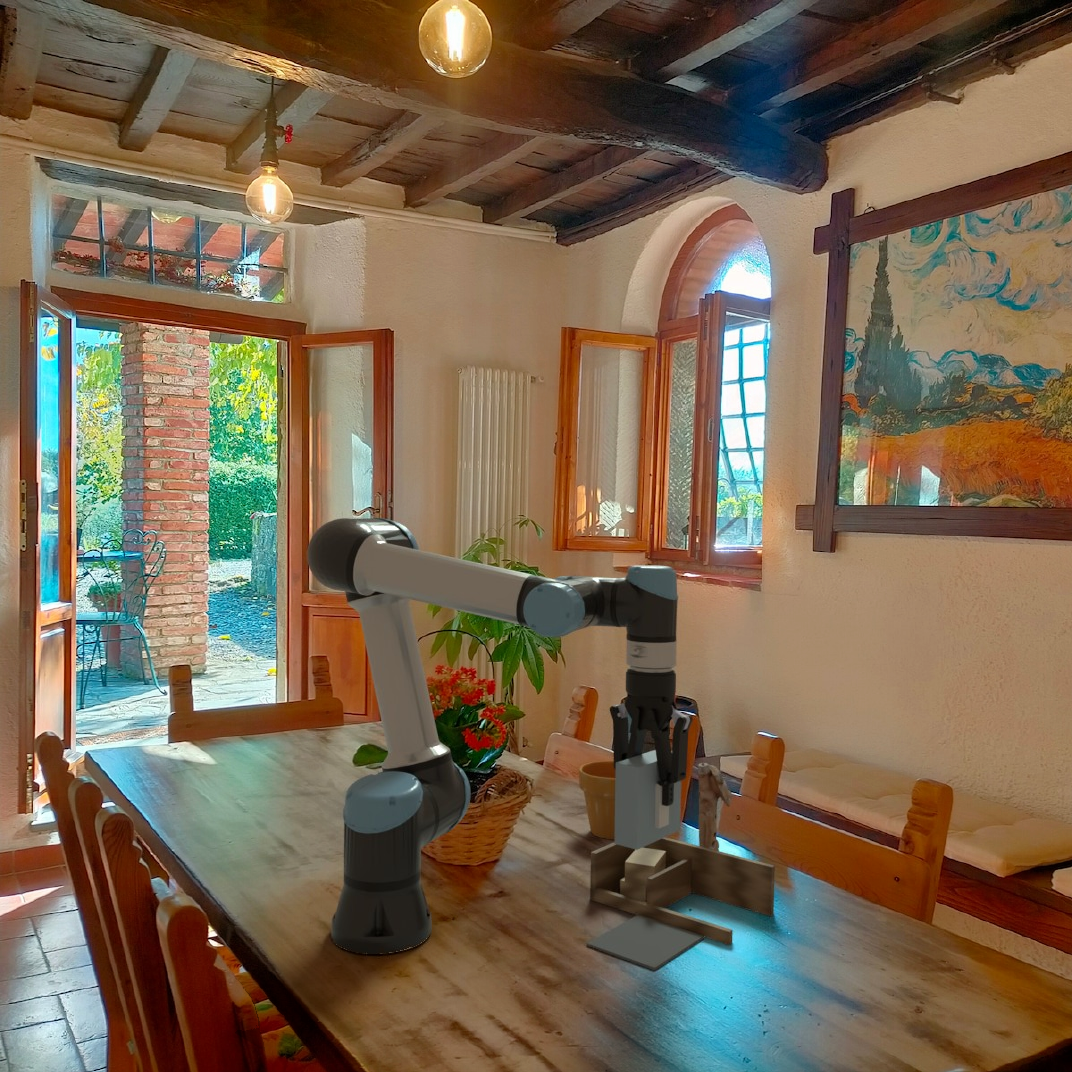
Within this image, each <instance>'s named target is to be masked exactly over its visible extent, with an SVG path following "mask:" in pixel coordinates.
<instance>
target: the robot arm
mask: <svg viewBox="0 0 1072 1072" xmlns="http://www.w3.org/2000/svg"><path fill="white" fill-rule="evenodd" d="M419 548H420V547H419V544H418V542H417V539H416V538H415V536H414V534H413V533H412V532H411V531H410V530H409V529H408V528H407V527H406V526H405V525H403V524H402V523H400V522H398V521H395V520H391V519H386V518H383V517H372V518H350V517H349V518H348V517H347V518H343V517H342V518H336V519H333V520H330V521H328V522H326V523H324V524H322V525H321V526H320V527H319V528H318V529H317V530H316V531H315V532H314V533H313V535H312V536H311V538H310V540H309V543H308V547H307V549H306V550H307V551H306V556H307V558H306V559H307V564H308V567H309V570H310V572H311V574H312V576H313V577H314V578H315V579H316V580H317V581H318V582H319V583H320V584H321V585H323V586H324V587H327V588H329V589H330V590H334V591H340V592H344V593H345V597H346V602H347V603H346V604H347V606H349V607H351V608H352V609H354V610H355V611H356V612H357V613H358V614H359V618H360V619H359V620H360V624H361V629H362V633H363V634H362V635H363V637H364V638H363V639H364V644H365V647H366V653H367V658H368V662H369V667H370V672H371V678H372V682H373V687H374V691H375V696H376V700H377V705H378V710H379V715H380V716H379V717H380V720H381V725H382V729H383V733H384V734H383V735H384V740H385V744H386V750H387V756H386V757H385V758H384V761H383V762H382V764H381V769H382V771H381V772H378V773H377V774H373V773H372V774H368V775H365V776H363V777H360V778H357V780H356V781H354V782H353V783H352V784H350V786H349V787H348V788H347V791H346V793H345V796H344V806H343V810H342V811H343V812H342V818H343V883H342V884H343V885H342V888H341V893H340V896H339V899H338V902H337V907H336V910H335V912H334V914H333V917H332V919H331V924H330V925H331V927H330V929H331V930H330V931H331V932H330V933H331V934H330V938H331V940H332V939H333V941H334V942H335V943H336V944H337V945H338V946H340V947H342V948H345V949H347V950H349V951H348V952H350V951H353V952H358V953H357V954H359V953H365V954H364V955H367V954H380V953H389V952H396V951H400V950H404V949H407V948H409V947H414V946H416V945H418V944H420V943H421V942H423V941H424V940H426V938H428V937H429V935H430V933H431V934H432V914H431V911H430V909H429V907H428V906H429V905H428V903H427V898H426V895H425V892H424V889H423V887H422V883H421V882H422V881H421V872H422V871H421V869H422V866H421V864H422V859H421V858H422V857H421V856H422V848H424V847H426V846H427V845H429V844H430V843H432V842H433V841H435V840H436V839H438V838H439V837H442V836H444V835H445V834H447V833H449V832H450V831H452V830H453V829H454V828H455V827H456V826H457V825H458V824H459V823H460V822H461V821H462V819H463V818H464V817H465V815H466V813H467V811H468V810H469V807H470V803H471V802H470V801H471V794H472V793H471V785H470V782H469V779H468V776H467V775H466V773H465V771H464V770H463V769H462V768H461V767H460V766H458V765H457V763H455V762H454V761H453V757H452V751H451V749H450V747H448V746H446V745H445V744H444V743H443V742H441V741H440V739H439V736H438V735H439V734H438V731H437V725H436V722H435V716H434V711H433V707H432V702H431V698H430V692H429V689H428V684H427V683H428V682H427V680H426V675H425V669H424V665H423V660H422V656H421V649H420V647H419V646H420V645H419V642H418V637H417V633H416V628H415V627H416V626H415V623H414V618H413V614H412V609H411V603H410V601H415V602H420V603H425V604H429V605H432V606H433V605H434V606H438V607H442V608H446V609H451V610H455V611H458V612H459V611H460V612H464V613H468V614H472V615H476V616H481V617H485V618H489V619H492V620H493V619H494V620H498V621H502V622H507V623H510V624H514V625H515V624H516V625H519V626H522V627H526V628H530V629H531V630H532V631H533V632H534V633H536V634H538V635H539V636H542V637H547V638H551V637H552V638H553V637H554V638H559V637H560V638H562V637H565V636H567V635H569V634H571V633H574V632H576V631H579V630H582V629H583V630H584V629H586V628H588V627H589V628H590V627H610V628H611V627H614V628H615V627H616V628H625V630H626V638H625V639H626V651H625V652H626V653H625V654H626V656H625V657H626V659H625V662H626V663H625V664H626V665H627V666H628V667H629V668H627V669H626V671H625V692H626V694H627V695H626V698H625V700H624V703H619V704H614V705H611V706H610V707H609V713H610V716H611V719H612V743H613V747H612V748H613V751H612V753H613V761H614V769H615V770H616V762H620V761H623V760H626V759H629V758H632V757H635V756H638V755H641V754H643V752H644V746H645V745H644V744H645V740H646V736H647V734H648V732H650V736H651V738H652V740H653V744H654V750H655V751H656V757H657V764H658V770H659V777H660V781H659V782H658V783H657V784H656V788H655V828H662V827H664V826H666V825H668V824H669V805H672V804H673V801H674V783H676V782H679V781H681V782H682V781H684V780H686V778H687V770H688V768H687V767H688V766H687V765H688V747H689V743H688V742H689V731H690V727H691V725H692V723H693V716H692V715H691V714H684V713H682V712H681V711H679V710H678V708H677V705H676V702H675V696H676V692H677V689H676V687H677V672H676V671H675V670H674V669H673V668H675V667H676V666H677V627H678V626H677V625H678V623H677V621H678V620H677V619H678V617H677V616H678V601H679V595H678V581H677V580H678V579H677V577H678V575H677V571H676V570H675V569H674V567H671V566H667V565H644V564H643V565H640V564H639V565H637V564H636V565H631V566H629V567H628V568H627V572H626V575H625V577H617V578H615V577H600V576H585V575H584V576H583V575H576V574H575V575H564V576H563V575H560V576H557V577H555V578H550V577H546V576H545V577H544V576H541V575H534V574H530V573H527V572H521V571H517V570H512V569H508V568H503V567H498V566H493V565H489V564H485V563H479V562H475V561H470V560H465V559H462V558H457V557H451V556H448V555H442V554H439V553H435V552H430V551H425V550H424V551H423V550H420V549H419ZM629 717H630V719H631V722H630V728H629ZM672 720H673V721H672ZM671 721H672V726H673V731H672V740H670V735H671V729H670V728H671V727H670V723H671ZM629 734H630V736H629ZM671 741H672V744H671ZM671 751H672V752H671ZM430 936H431V935H430ZM429 938H430V937H429ZM429 938H428V939H429ZM333 941H332V942H333ZM426 941H427V940H426ZM334 942H333V943H334ZM335 943H334V944H335ZM336 944H335V945H336ZM337 945H336V946H337ZM338 946H337V947H338ZM340 947H339V948H340ZM342 948H341V949H342ZM347 950H346V951H347ZM353 952H352V953H353ZM366 953H367V954H366Z"/></svg>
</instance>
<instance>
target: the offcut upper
mask: <svg viewBox="0 0 1072 1072" xmlns="http://www.w3.org/2000/svg"><path fill="white" fill-rule="evenodd" d="M664 869H666V851H662V850H656V849H649V848H640V849H638V850H635V851H634V852H633V853H632V854H631V856H630V857H629V858H628V859H627V860H626V861H625V883H630V884H636V885H642V886H647V878H649V877H651V876H653V875H655V874H657V873H659V872H661V871H662V870H664Z"/></svg>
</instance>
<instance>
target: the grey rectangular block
mask: <svg viewBox="0 0 1072 1072" xmlns="http://www.w3.org/2000/svg"><path fill="white" fill-rule="evenodd" d="M671 752H672V750H671ZM659 781H660V777H659V770H658V764H657V757H656V751H655V749H654V750H650V751H647V752H645V753H642V754H641V755H638V756H635V757H632V758H629V759H626V760H623V761H620V762H616V778H615V839H613V840H614V841H613V842H614V844H618V845H621V846H625V847H629V848H632V849H636V850H638V849H640V848H642V847H644V846H647V845H649V844H651V843H653V842H655V841H658V840H660V839H662V838H664V837H666V838H667V837H668V836H670V835H673V834H675V833H677V832H679V831H681V814H682V812H681V808H682V806H681V805H682V780H681V781H679V782H676V783H674V801H673V804H672V805H669V824H668V825H666V826H664V827H662V828H655V788H656V784H657V783H658V782H659Z"/></svg>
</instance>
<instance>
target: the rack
mask: <svg viewBox="0 0 1072 1072" xmlns="http://www.w3.org/2000/svg"><path fill="white" fill-rule="evenodd" d="M642 848H649V849H656V850H662V851H666V869H664V870H662V871H661V872H659V873H657V874H655V875H653V876H651V877H649V878H647V903H646V902H643V901H640V900H637V899H633V898H630V897H627V896H624V895H621V894H620V893H618V892H616V891H619V890H620V880H621V879H623V878H625V861H626V860H627V859H628V858H629V857H630V856H631V854H632V853H633V852H634V851H635V850H636V849H632V848H629V847H625V846H621V845H618V844H614V841H613V842H610V843H609V844H606V845H605V846H602V847H600V848H597V849H595V850H593V851H591V852H590V879H589V882H590V883H589V886H590V887H589V888H590V889H589V897H590V898H589V899H590V901H593V902H597V903H600V904H603V905H606V906H609V907H611V908H615V909H618V910H621V911H624V912H627V913H630V914H633V915H635V916H636V915H638V914H639V915H642V916H645V917H648V918H651V919H654V920H657V921H660V922H663V923H666V924H669V925H672V926H676V927H679V928H682V929H685V930H688V931H691V932H694V933H697V934H700V935H703V936H704V938H706V939H710V940H714V941H715V942H718V943H722V944H725V945H728V946H730V945H732V944H733V931H734V930H733V929H732V928H729V927H724V926H722V925H719V924H715V923H712V922H709V921H706V920H704V919H700V918H697V917H694V916H690V915H687V914H683V913H681V912H678V911H675V910H670V909H668V907H670V906H672V905H674V904H675V903H677V902H679V901H680V900H682V899H684V898H686V897H687V896H689V895H691V894H695V895H698V896H701V897H705V898H708V899H711V900H715V901H719V902H721V903H725V904H728V905H732V906H735V907H738V908H741V909H745V910H748V911H752V912H753V913H754V912H755V913H758V914H762V915H764V916H768V917H772V916H773V915H774V913H775V908H774V907H775V868H776V867H775V865H773V864H770V863H765V862H763V861H762V862H761V861H758V860H754V859H750V858H747V857H746V858H745V857H742V856H739V855H735V854H731V853H728V852H724V851H720V850H719V851H716V850H712V849H709V848H705V847H701V846H699V845H696V844H693V843H688V842H685V841H681V840H677V839H673V838H669V837H667V836H666V837H664V838H662V839H660V840H658V841H655V842H653V843H651V844H649V845H647V846H644V847H642Z"/></svg>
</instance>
